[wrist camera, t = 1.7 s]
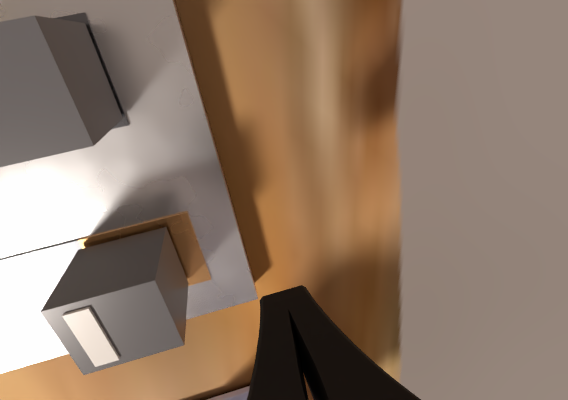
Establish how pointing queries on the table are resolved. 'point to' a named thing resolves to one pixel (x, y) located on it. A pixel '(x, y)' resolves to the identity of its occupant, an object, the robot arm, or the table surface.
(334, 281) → the table surface
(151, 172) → the panel
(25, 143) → the block
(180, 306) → the breaker
